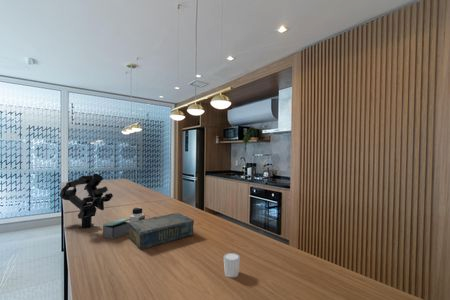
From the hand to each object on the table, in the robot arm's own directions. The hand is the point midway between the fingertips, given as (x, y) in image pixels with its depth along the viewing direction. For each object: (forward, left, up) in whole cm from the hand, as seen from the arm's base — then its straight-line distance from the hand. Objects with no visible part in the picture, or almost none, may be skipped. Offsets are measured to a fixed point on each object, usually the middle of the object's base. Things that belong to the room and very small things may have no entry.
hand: (103, 210), depth 137 cm
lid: (+8, +11, -6) cm, 15 cm away
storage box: (+8, +11, -13) cm, 19 cm away
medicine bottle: (-6, +19, -13) cm, 24 cm away
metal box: (+17, +38, -14) cm, 44 cm away
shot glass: (+62, +70, -13) cm, 95 cm away
